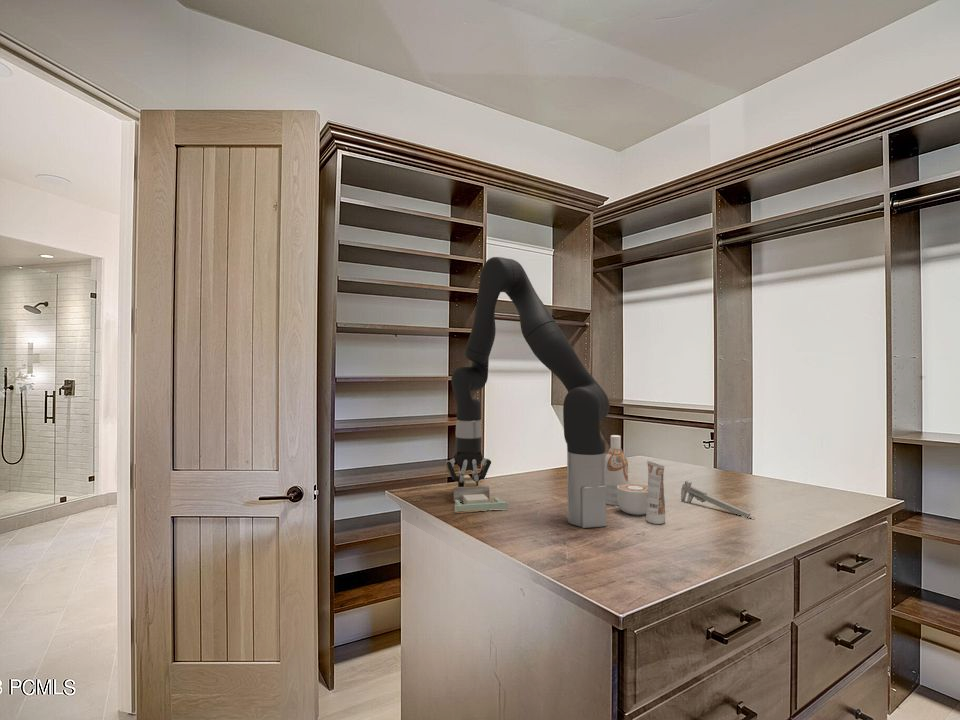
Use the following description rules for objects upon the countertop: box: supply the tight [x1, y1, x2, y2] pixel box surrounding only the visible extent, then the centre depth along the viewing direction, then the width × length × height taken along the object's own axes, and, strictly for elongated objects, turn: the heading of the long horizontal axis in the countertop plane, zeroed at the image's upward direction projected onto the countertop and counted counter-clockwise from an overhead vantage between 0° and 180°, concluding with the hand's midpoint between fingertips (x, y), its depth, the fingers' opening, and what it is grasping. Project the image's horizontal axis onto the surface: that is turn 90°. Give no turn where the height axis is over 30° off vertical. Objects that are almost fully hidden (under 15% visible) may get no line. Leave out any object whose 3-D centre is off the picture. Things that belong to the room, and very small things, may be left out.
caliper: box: [680, 480, 755, 519], centre depth 138 cm, size 20×1×6 cm, turn 34°
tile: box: [462, 494, 490, 504], centre depth 143 cm, size 6×6×2 cm
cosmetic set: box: [605, 434, 666, 525], centre depth 136 cm, size 25×9×19 cm, turn 16°
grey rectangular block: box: [453, 473, 490, 502], centre depth 152 cm, size 13×10×5 cm
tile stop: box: [454, 496, 508, 513], centre depth 139 cm, size 6×14×2 cm, turn 103°
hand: (468, 494), depth 151 cm, fingers closed on grey rectangular block, 3 cm apart
